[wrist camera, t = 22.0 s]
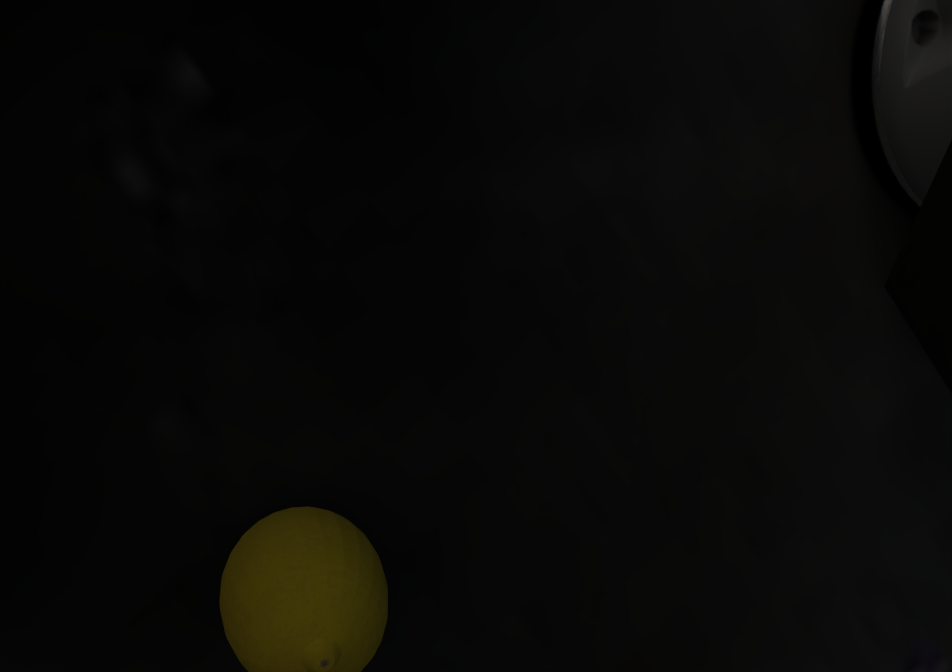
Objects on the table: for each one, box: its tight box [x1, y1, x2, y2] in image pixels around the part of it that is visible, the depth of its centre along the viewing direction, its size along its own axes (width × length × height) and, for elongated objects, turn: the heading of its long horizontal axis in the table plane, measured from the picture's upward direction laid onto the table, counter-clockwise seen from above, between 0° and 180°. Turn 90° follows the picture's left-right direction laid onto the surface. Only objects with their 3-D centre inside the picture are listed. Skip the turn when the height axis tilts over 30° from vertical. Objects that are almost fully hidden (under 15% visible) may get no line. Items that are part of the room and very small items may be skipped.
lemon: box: [220, 506, 388, 672], centre depth 30 cm, size 6×6×8 cm
